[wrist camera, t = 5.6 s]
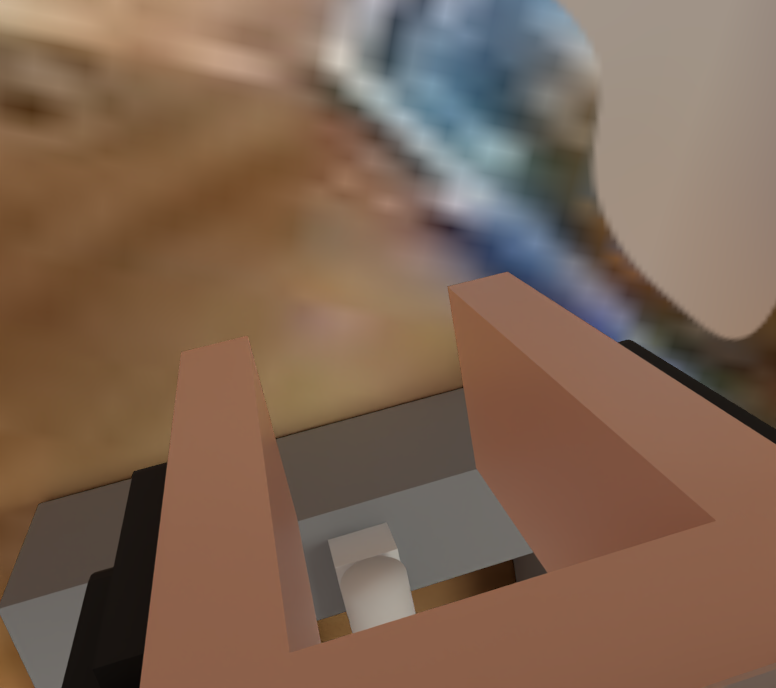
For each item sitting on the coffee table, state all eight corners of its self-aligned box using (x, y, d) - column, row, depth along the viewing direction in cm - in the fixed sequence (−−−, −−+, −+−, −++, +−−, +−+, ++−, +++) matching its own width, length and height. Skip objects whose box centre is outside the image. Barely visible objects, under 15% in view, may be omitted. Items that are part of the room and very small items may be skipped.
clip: (507, 271, 14) (1002, 590, 5) (529, 452, 15) (944, 939, 7) (181, 351, 13) (113, 895, 4) (237, 535, 14) (274, 1221, 6)
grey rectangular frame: (576, 356, 31) (724, 464, 22) (605, 675, 37) (728, 854, 29) (38, 504, 27) (-38, 699, 19) (175, 825, 34) (166, 1080, 25)
